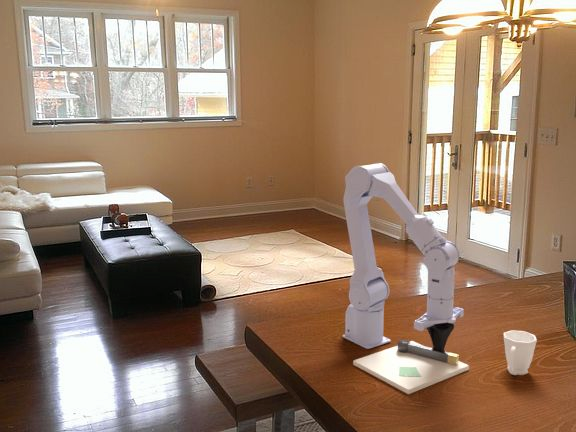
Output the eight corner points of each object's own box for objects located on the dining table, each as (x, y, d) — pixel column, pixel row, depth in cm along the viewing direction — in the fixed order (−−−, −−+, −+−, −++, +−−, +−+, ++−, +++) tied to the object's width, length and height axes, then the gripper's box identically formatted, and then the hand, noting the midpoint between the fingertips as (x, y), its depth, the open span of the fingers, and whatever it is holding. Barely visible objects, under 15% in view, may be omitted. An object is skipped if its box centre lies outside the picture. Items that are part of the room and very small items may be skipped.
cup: (538, 368, 129) (541, 334, 127) (526, 386, 121) (528, 350, 119) (505, 360, 133) (508, 327, 131) (492, 377, 125) (494, 342, 124)
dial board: (353, 364, 132) (353, 360, 132) (411, 344, 142) (412, 340, 142) (408, 394, 118) (408, 389, 118) (468, 369, 129) (468, 365, 129)
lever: (395, 350, 136) (395, 342, 136) (400, 346, 138) (401, 338, 138) (454, 366, 128) (455, 357, 127) (459, 361, 130) (460, 353, 130)
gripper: (432, 307, 123) (430, 367, 125) (475, 294, 131) (473, 350, 134) (407, 299, 129) (406, 356, 131) (450, 286, 137) (448, 340, 139)
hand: (438, 352), depth 133 cm, fingers closed, pressing on lever
